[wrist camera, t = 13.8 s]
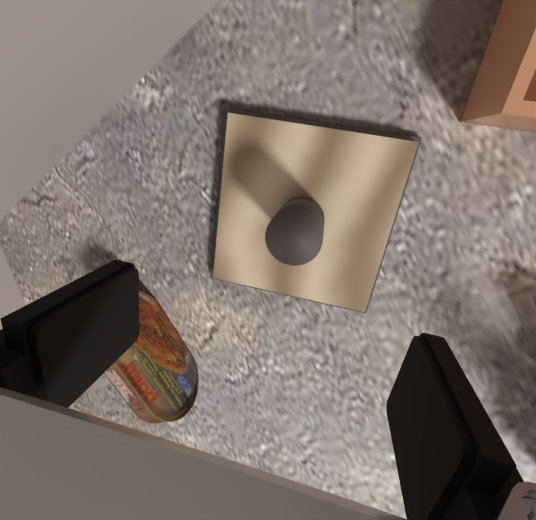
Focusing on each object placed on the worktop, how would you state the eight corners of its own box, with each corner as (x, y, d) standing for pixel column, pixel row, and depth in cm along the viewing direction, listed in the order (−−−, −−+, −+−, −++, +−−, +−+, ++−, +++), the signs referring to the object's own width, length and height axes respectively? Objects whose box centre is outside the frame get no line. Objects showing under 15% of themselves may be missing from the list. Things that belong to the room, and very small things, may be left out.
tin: (208, 379, 37) (176, 441, 29) (188, 385, 38) (151, 446, 30) (142, 275, 33) (85, 313, 26) (122, 285, 34) (61, 324, 27)
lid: (415, 142, 23) (447, 140, 17) (363, 307, 29) (373, 352, 23) (231, 113, 25) (197, 102, 19) (216, 274, 31) (186, 307, 24)
